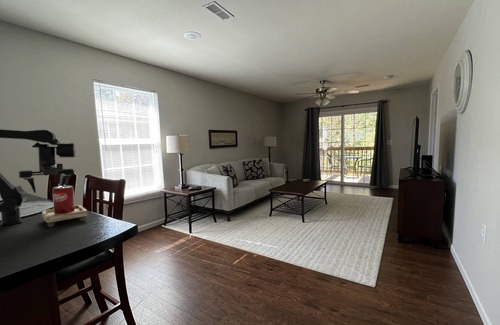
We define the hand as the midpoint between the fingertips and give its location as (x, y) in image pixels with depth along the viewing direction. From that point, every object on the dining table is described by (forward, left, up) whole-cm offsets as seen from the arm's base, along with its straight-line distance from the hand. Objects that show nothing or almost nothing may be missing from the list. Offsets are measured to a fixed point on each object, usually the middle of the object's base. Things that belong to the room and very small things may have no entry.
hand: (48, 191), depth 107 cm
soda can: (+9, +4, -9) cm, 14 cm away
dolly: (+9, +4, -13) cm, 16 cm away
